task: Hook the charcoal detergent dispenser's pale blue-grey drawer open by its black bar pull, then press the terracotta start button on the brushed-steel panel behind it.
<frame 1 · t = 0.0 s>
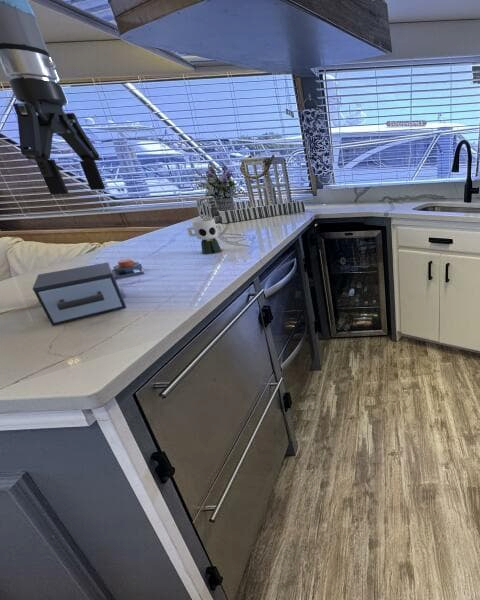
hand: (80, 191, 73), 26 cm above the worktop, tool pointing down, fingers open, 13 cm apart
start button: (126, 263, 96), point 4 cm above the worktop, slide at 0.1 cm
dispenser: (90, 307, 77), on the worktop
character mug: (213, 256, 119), on the worktop
drawer: (82, 295, 72), point 4 cm above the worktop, slide at 0.0 cm
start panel: (119, 280, 96), on the worktop
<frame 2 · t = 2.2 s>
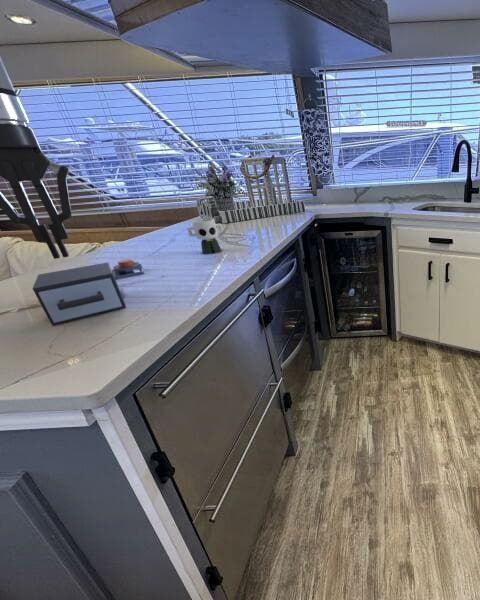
hand: (61, 256, 65), 14 cm above the worktop, tool pointing down, fingers closed
nothing on the worktop moved.
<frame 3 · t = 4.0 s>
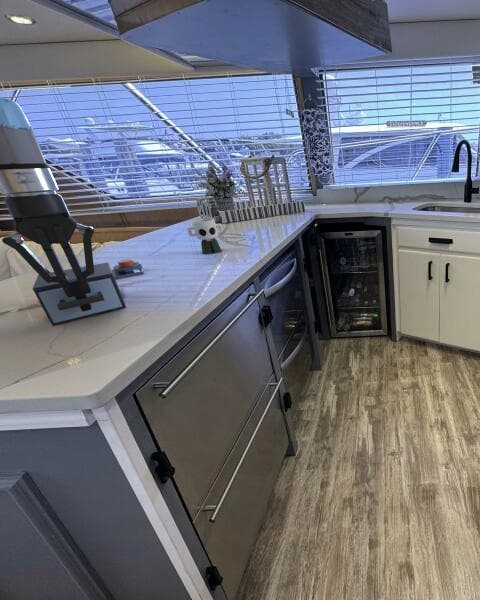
hand: (86, 308, 69), 3 cm above the worktop, tool pointing down, fingers closed
drawer: (82, 296, 72), point 4 cm above the worktop, slide at 0.2 cm, touching gripper
everything else where it was.
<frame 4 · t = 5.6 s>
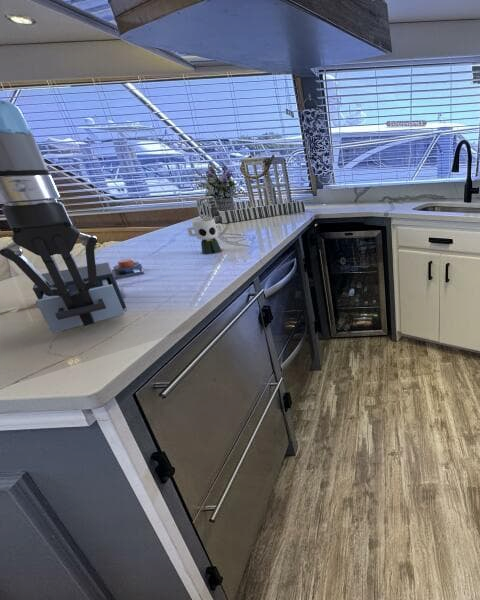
hand: (89, 322, 65), 2 cm above the worktop, tool pointing down, fingers closed
drawer: (83, 303, 68), point 4 cm above the worktop, slide at 6.4 cm, touching gripper
everything else where it was.
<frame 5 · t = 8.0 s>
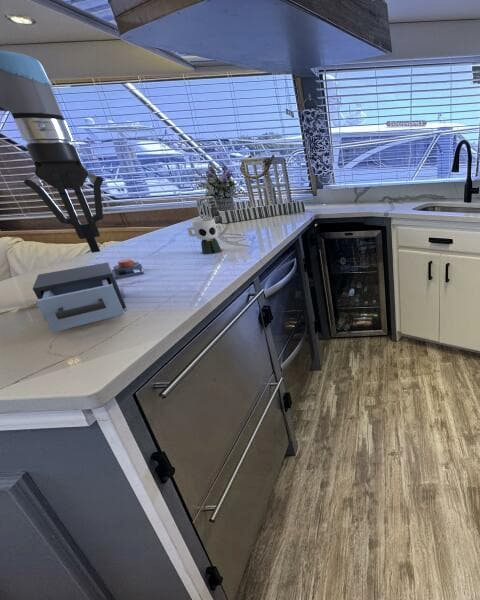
hand: (96, 251, 77), 12 cm above the worktop, tool pointing down, fingers closed
drawer: (83, 303, 68), point 4 cm above the worktop, slide at 6.1 cm
everything else where it was.
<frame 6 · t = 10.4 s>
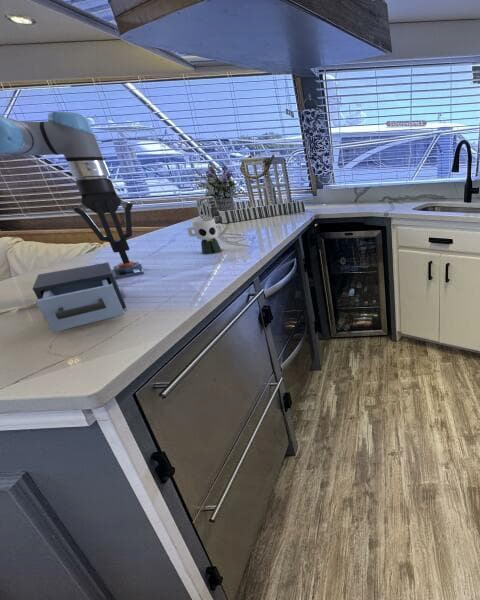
hand: (126, 261, 96), 5 cm above the worktop, tool pointing down, fingers closed
start button: (127, 265, 97), point 4 cm above the worktop, slide at -0.6 cm, touching gripper
everything else where it was.
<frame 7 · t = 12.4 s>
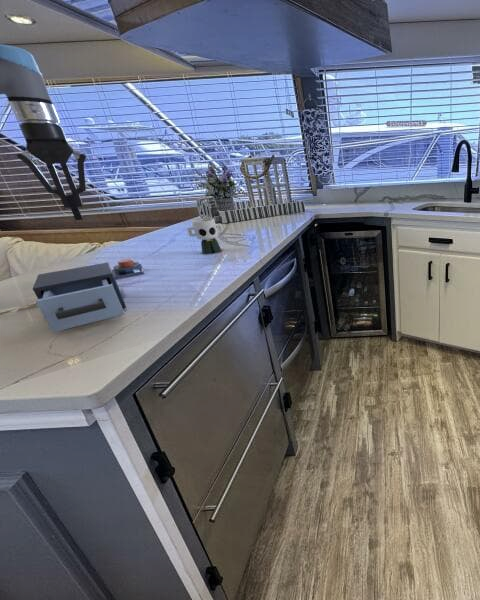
hand: (79, 219, 89), 18 cm above the worktop, tool pointing down, fingers closed
start button: (126, 263, 96), point 4 cm above the worktop, slide at 0.1 cm
everything else where it was.
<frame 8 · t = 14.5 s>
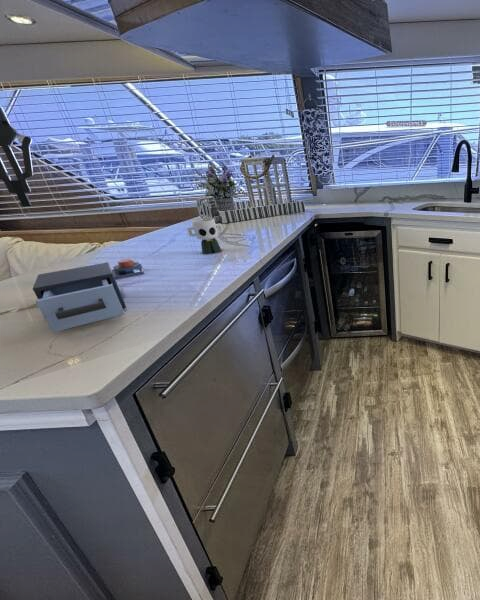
hand: (27, 206, 85), 22 cm above the worktop, tool pointing down, fingers closed
nothing on the worktop moved.
at the end: drawer slide at 6.1 cm; start button pushed in 0.8 cm at the most during the clip, back to where it started at the end; start button slide at 0.1 cm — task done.
